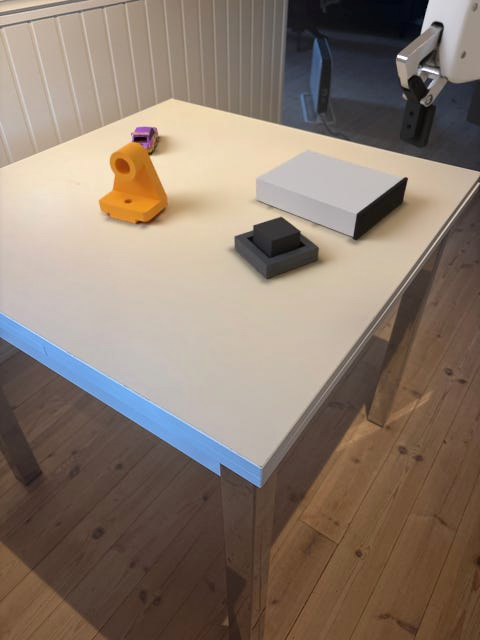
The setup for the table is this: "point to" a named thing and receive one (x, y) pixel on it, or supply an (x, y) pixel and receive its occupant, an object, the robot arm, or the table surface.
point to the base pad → (277, 263)
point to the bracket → (133, 186)
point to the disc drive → (331, 192)
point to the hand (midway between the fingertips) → (446, 133)
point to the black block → (276, 237)
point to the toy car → (146, 137)
